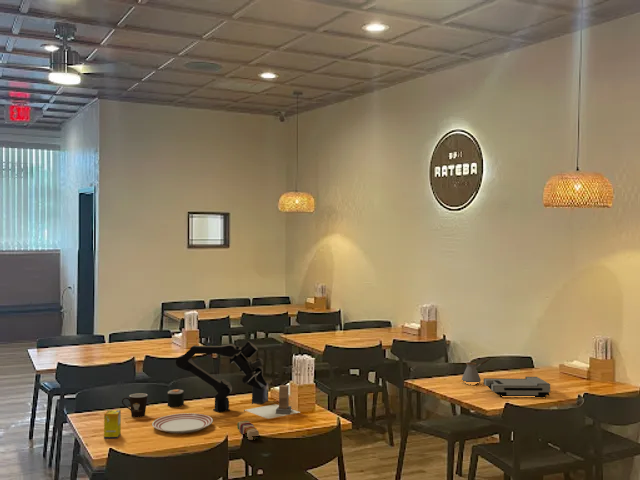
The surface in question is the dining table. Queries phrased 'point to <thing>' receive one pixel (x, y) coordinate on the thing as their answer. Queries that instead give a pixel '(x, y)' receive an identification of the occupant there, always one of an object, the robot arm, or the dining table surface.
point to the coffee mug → (137, 404)
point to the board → (269, 411)
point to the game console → (519, 386)
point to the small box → (260, 394)
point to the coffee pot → (472, 372)
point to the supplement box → (112, 424)
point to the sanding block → (283, 400)
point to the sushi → (175, 398)
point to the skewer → (247, 429)
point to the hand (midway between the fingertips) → (263, 387)
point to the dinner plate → (182, 422)
